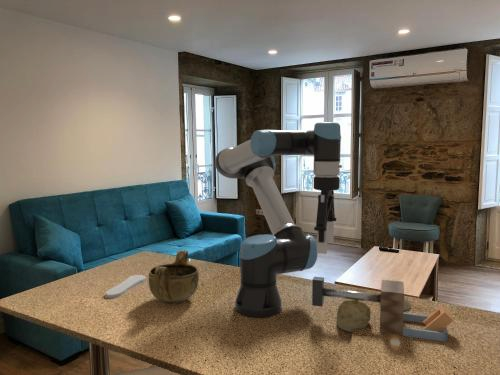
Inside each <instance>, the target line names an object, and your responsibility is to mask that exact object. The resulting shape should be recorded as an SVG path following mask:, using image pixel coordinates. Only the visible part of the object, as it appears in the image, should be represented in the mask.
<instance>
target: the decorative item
mask: <svg viewBox="0 0 500 375" xmlns="http://www.w3.org/2000/svg"><path fill="white" fill-rule="evenodd" d="M371 313H372V311H371V308H370V306H368V305H367V304H366V303H365V302H364V301H360V300H352V299H345V300H344V301H342V303H340V305H338V308H337V312H336V325H337V327H338V328H340V329H341V330H343V331H345V332H347V333H353V332H354V330H355V329H356V330H358V329H363V328H366V327H367V326H369V324H370V323H369V322H370V321H371Z"/></svg>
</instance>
